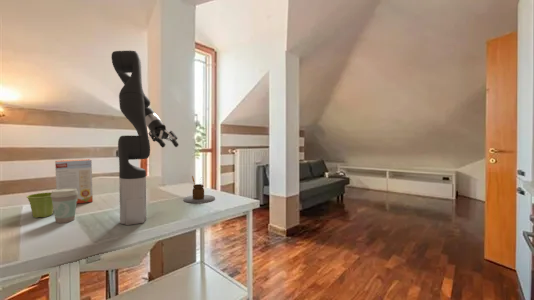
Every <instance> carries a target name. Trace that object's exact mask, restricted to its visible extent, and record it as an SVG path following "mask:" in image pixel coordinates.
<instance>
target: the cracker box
mask: <svg viewBox="0 0 534 300" xmlns="http://www.w3.org/2000/svg"><path fill="white" fill-rule="evenodd" d="M54 163H55V165H54V166H55V190H56V189H63V188H76V189H77V191H78V194H77V202H76V205H77V204H83V203H93V201H94V199H93V197H94V196H93V195H94V194H93V167H92V164H93V163H92V159H90V158H89V159H65V160H55V162H54Z"/></svg>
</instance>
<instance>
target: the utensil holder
mask: <svg viewBox="0 0 534 300" xmlns="http://www.w3.org/2000/svg"><path fill="white" fill-rule="evenodd" d="M191 179H192V182H193V189H192V195H193V199H203V198H204V195H205V188H204V183H205V181H204V180H201V181H200V180H199V181H198V182H199V184H198V183H197V184H196V183H195V178H194V176H193V175H191ZM201 179H204V177H201Z"/></svg>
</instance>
